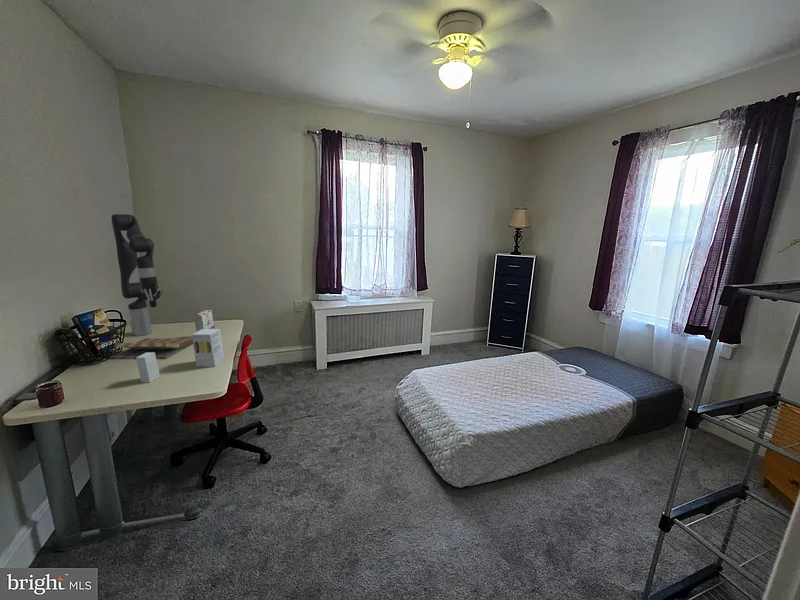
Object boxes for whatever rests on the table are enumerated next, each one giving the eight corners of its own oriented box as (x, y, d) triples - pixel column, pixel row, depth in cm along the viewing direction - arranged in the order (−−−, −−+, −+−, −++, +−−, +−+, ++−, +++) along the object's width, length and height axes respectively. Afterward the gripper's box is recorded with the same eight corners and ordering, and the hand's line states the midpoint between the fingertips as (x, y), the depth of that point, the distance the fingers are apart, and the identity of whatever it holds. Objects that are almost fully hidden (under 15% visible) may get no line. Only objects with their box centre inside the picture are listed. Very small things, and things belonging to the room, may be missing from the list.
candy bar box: (208, 335, 208) (204, 309, 205) (216, 335, 208) (212, 309, 205) (197, 341, 198) (193, 314, 194) (205, 341, 197) (201, 314, 194)
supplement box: (195, 367, 161) (190, 334, 158) (206, 359, 170) (201, 328, 167) (215, 366, 162) (210, 334, 158) (225, 359, 171) (220, 328, 167)
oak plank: (114, 346, 174) (115, 342, 175) (130, 347, 184) (131, 344, 185) (166, 346, 173) (166, 342, 174) (179, 347, 183) (179, 344, 183)
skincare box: (151, 376, 152) (146, 352, 149) (160, 376, 152) (155, 352, 149) (140, 382, 146) (135, 357, 144) (149, 382, 146) (144, 357, 143)
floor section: (110, 358, 173) (109, 353, 172) (146, 342, 196) (145, 337, 196) (166, 358, 172) (165, 353, 171) (195, 342, 195) (194, 337, 195)
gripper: (164, 274, 182) (170, 305, 186) (141, 275, 182) (147, 305, 186) (154, 276, 175) (160, 308, 179) (130, 277, 175) (136, 309, 179)
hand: (153, 307), depth 182 cm, fingers closed
